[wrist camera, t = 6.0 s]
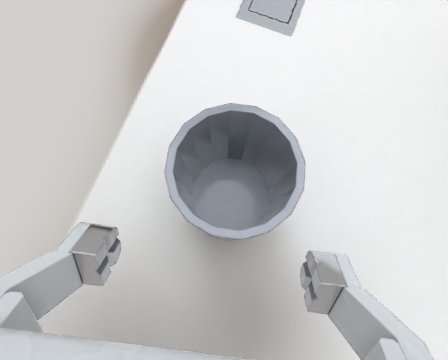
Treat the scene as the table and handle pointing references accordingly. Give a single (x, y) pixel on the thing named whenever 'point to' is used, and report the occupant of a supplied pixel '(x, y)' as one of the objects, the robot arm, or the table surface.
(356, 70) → the table surface
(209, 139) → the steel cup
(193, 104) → the table surface
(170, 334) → the table surface
